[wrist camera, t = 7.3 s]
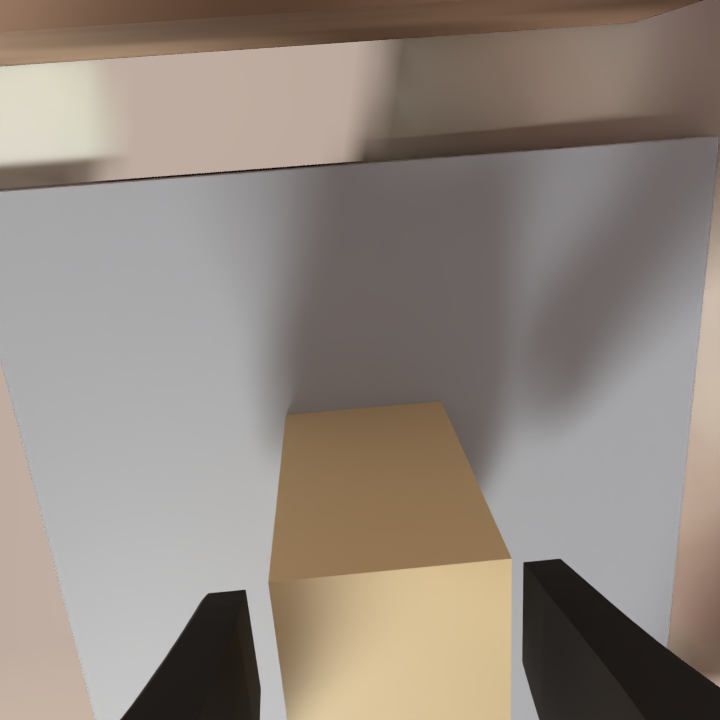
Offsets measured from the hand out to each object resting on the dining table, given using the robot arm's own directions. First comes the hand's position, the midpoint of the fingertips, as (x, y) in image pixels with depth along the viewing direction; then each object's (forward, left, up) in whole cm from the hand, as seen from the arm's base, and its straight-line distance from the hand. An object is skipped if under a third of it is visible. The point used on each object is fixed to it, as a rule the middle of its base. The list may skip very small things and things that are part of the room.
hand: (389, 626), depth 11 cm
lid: (0, -1, -4) cm, 4 cm away
